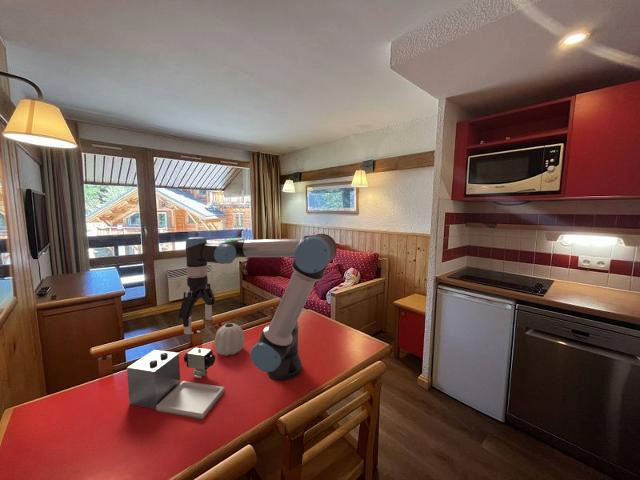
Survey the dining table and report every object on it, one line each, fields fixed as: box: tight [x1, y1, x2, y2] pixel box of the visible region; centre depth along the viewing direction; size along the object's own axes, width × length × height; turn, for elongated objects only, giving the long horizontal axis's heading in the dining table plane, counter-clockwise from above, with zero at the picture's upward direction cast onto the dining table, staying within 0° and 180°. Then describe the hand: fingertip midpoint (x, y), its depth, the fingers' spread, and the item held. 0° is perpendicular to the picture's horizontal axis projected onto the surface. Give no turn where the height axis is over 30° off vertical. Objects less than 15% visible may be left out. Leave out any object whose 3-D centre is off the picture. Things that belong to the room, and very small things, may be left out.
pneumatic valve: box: [183, 347, 216, 379], centre depth 111 cm, size 6×12×12 cm, turn 78°
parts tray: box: [155, 380, 225, 420], centre depth 97 cm, size 18×14×2 cm
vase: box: [214, 322, 245, 357], centre depth 130 cm, size 14×14×13 cm
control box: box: [126, 349, 181, 410], centre depth 98 cm, size 11×12×15 cm
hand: (198, 326), depth 109 cm, fingers open, 13 cm apart
